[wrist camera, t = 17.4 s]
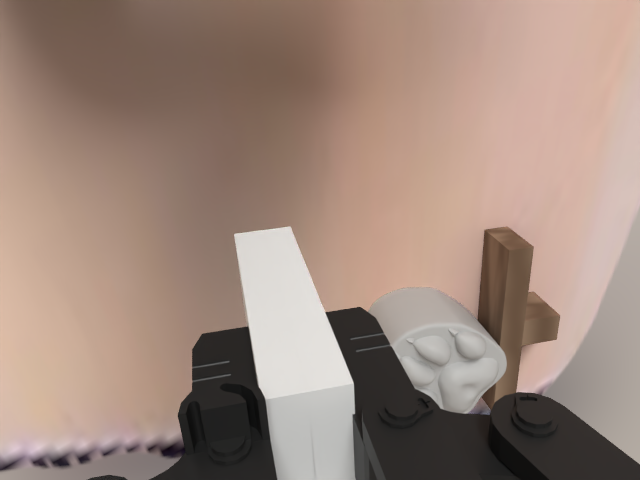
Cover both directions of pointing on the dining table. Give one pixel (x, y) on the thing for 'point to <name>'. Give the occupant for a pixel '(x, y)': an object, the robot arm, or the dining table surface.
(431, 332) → the lumpy-topped squat cylinder
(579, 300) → the dining table surface
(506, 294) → the t stop
